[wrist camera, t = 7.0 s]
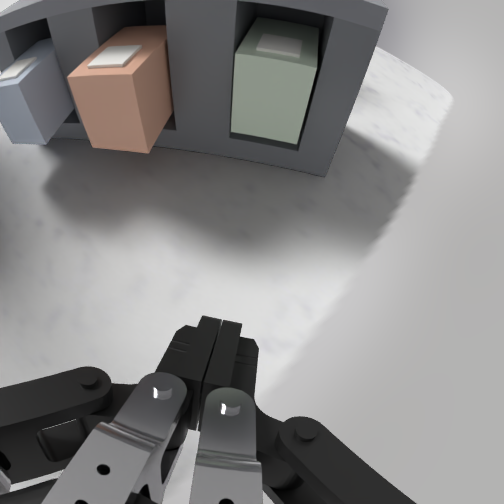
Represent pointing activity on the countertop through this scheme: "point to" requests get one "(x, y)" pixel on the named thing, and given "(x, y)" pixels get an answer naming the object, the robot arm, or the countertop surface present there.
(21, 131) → the key slate
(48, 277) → the countertop surface
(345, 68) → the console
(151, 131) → the key terracotta
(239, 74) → the key sage
